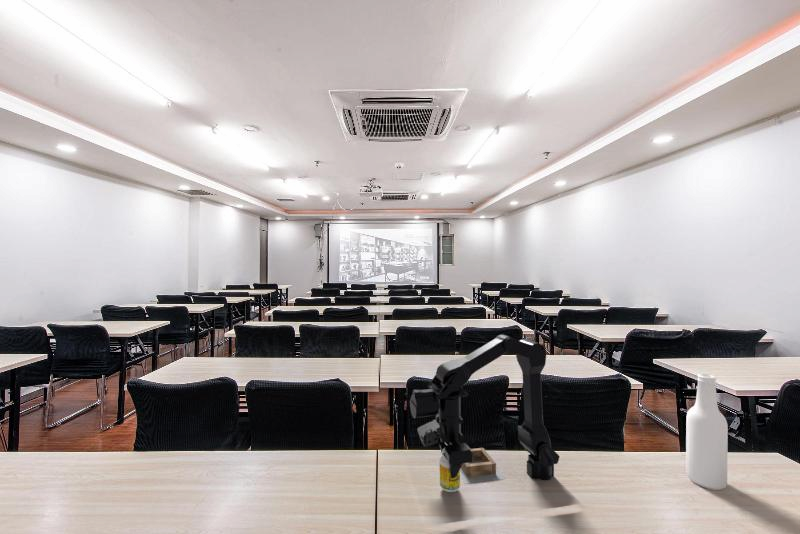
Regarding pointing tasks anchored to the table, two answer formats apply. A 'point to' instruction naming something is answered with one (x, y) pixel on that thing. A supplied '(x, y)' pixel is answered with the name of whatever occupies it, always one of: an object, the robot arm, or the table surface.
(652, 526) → the table surface
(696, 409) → the alcohol
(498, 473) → the board
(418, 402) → the robot arm
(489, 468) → the collar
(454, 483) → the supplement bottle
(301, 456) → the table surface
